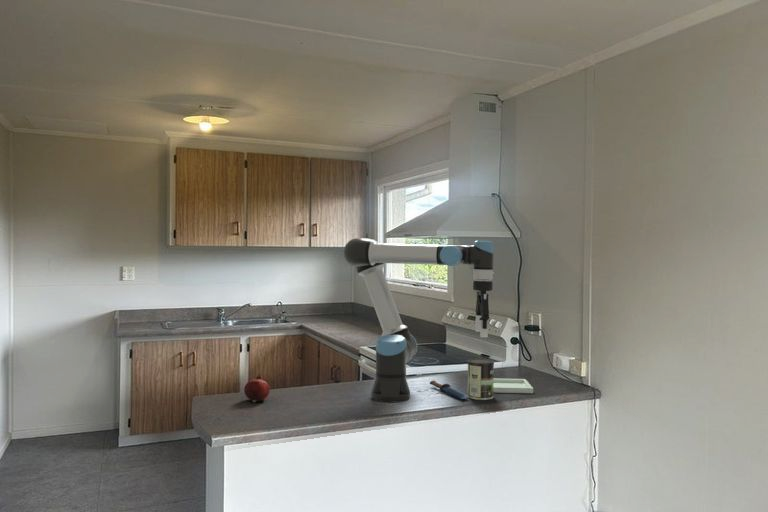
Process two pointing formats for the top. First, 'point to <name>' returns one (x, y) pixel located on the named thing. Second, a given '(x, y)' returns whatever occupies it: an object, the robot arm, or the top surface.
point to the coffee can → (480, 379)
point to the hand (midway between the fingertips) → (481, 334)
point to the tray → (511, 386)
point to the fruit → (256, 389)
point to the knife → (449, 390)
